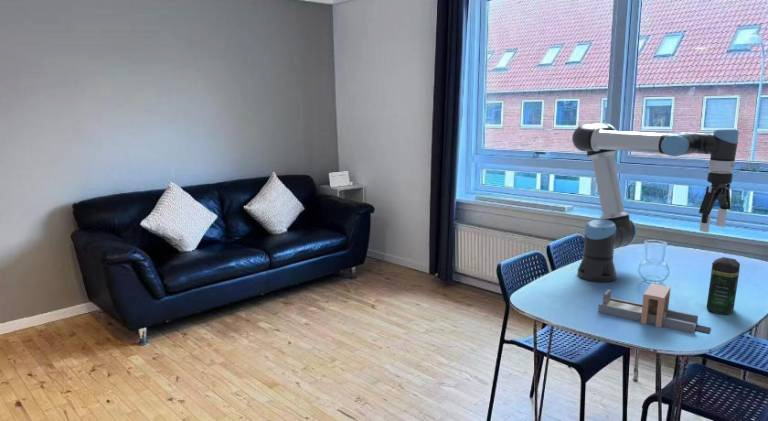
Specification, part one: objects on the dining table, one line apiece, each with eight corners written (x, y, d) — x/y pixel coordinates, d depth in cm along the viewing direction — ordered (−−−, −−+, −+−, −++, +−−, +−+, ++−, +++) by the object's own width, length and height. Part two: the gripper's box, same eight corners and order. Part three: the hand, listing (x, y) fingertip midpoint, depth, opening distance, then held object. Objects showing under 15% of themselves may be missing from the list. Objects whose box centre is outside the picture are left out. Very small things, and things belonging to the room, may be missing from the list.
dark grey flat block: (694, 330, 166) (694, 329, 165) (696, 325, 169) (696, 324, 169) (709, 333, 163) (709, 332, 163) (710, 328, 167) (710, 327, 167)
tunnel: (640, 323, 171) (643, 294, 169) (648, 311, 181) (651, 283, 179) (660, 327, 168) (664, 297, 166) (667, 315, 178) (670, 287, 175)
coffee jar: (730, 317, 175) (737, 264, 172) (704, 311, 181) (710, 260, 177) (735, 308, 182) (742, 258, 179) (710, 303, 188) (716, 254, 184)
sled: (602, 308, 181) (603, 291, 180) (607, 302, 186) (608, 286, 185) (663, 321, 170) (664, 303, 169) (666, 315, 175) (668, 297, 174)
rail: (598, 311, 181) (598, 304, 180) (605, 303, 188) (605, 296, 187) (693, 332, 164) (694, 324, 163) (697, 323, 171) (698, 315, 170)
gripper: (716, 176, 177) (708, 236, 181) (746, 170, 191) (737, 226, 196) (693, 173, 183) (685, 231, 187) (723, 168, 197) (716, 222, 201)
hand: (712, 228), depth 191 cm, fingers open, 13 cm apart
